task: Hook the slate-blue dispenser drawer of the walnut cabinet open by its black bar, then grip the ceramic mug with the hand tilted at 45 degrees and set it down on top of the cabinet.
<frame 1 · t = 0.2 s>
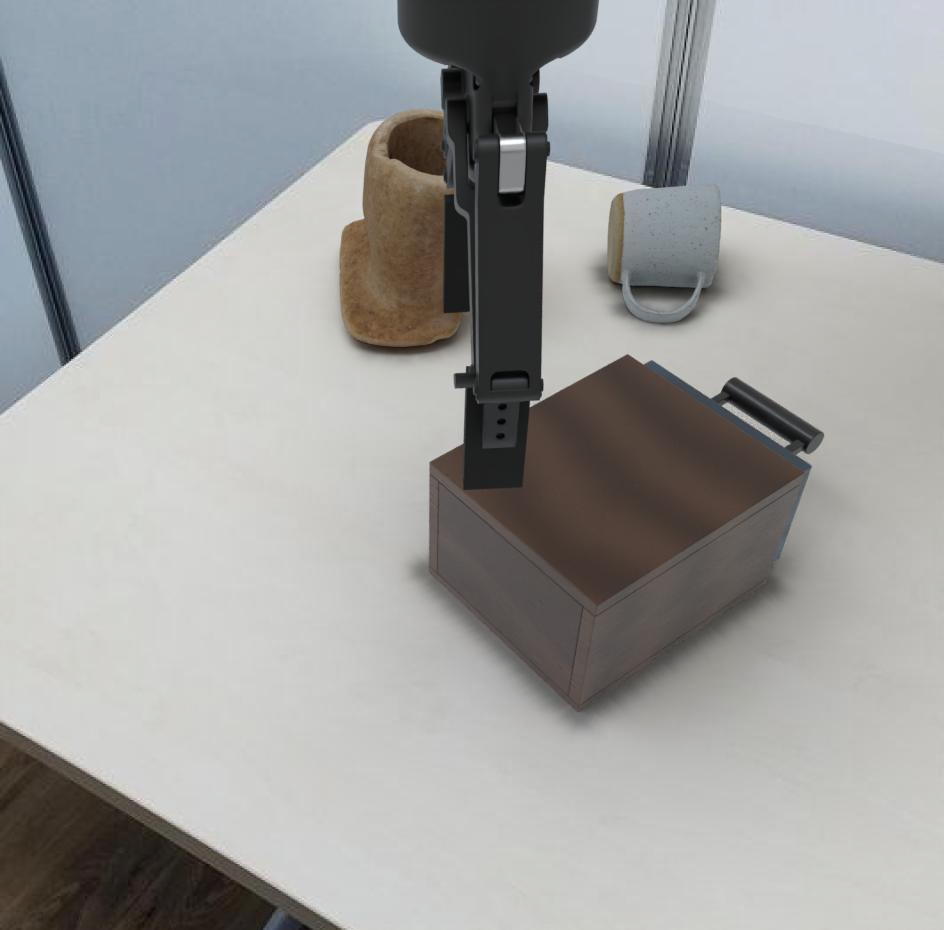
hand: (479, 389, 56), 18 cm above the table, tool pointing down, fingers open, 13 cm apart
ceramic mug: (659, 289, 91), on the table
stone cup: (412, 302, 92), on the table
drawer: (664, 489, 69), point 5 cm above the table, slide at 0.5 cm
cabinet: (594, 580, 71), on the table
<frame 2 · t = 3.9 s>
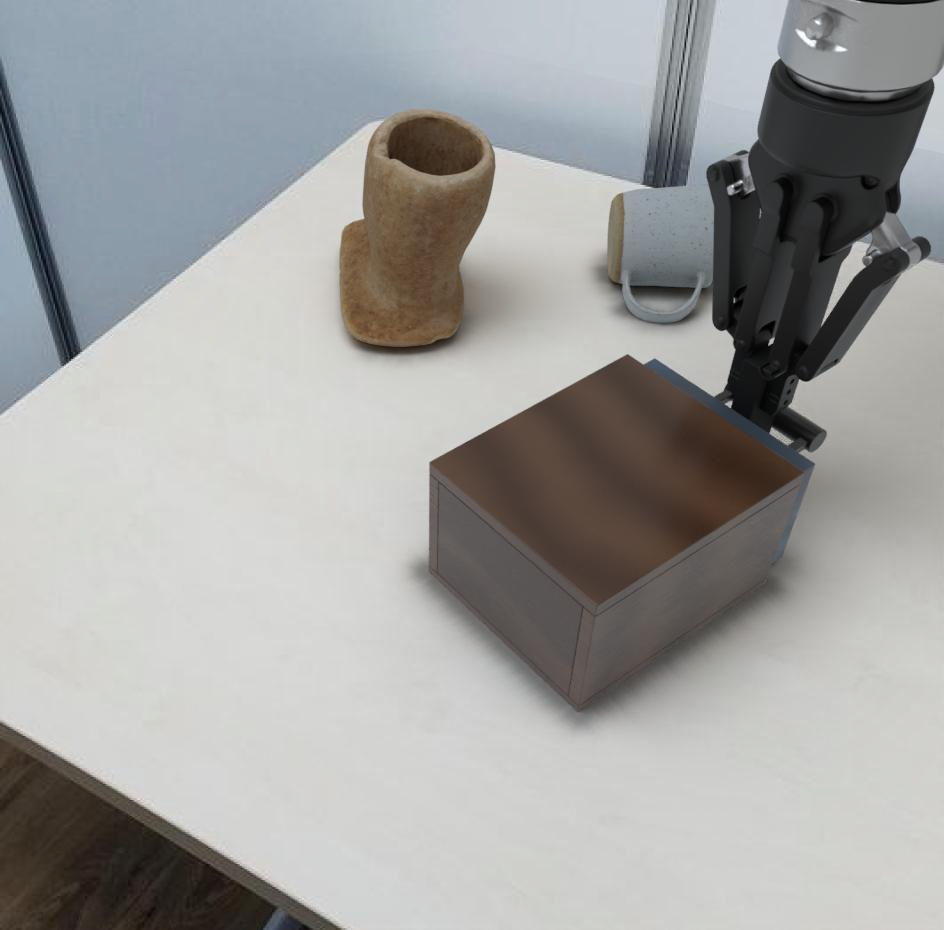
hand: (745, 439, 72), 5 cm above the table, tool pointing down, fingers closed
nothing on the table moved.
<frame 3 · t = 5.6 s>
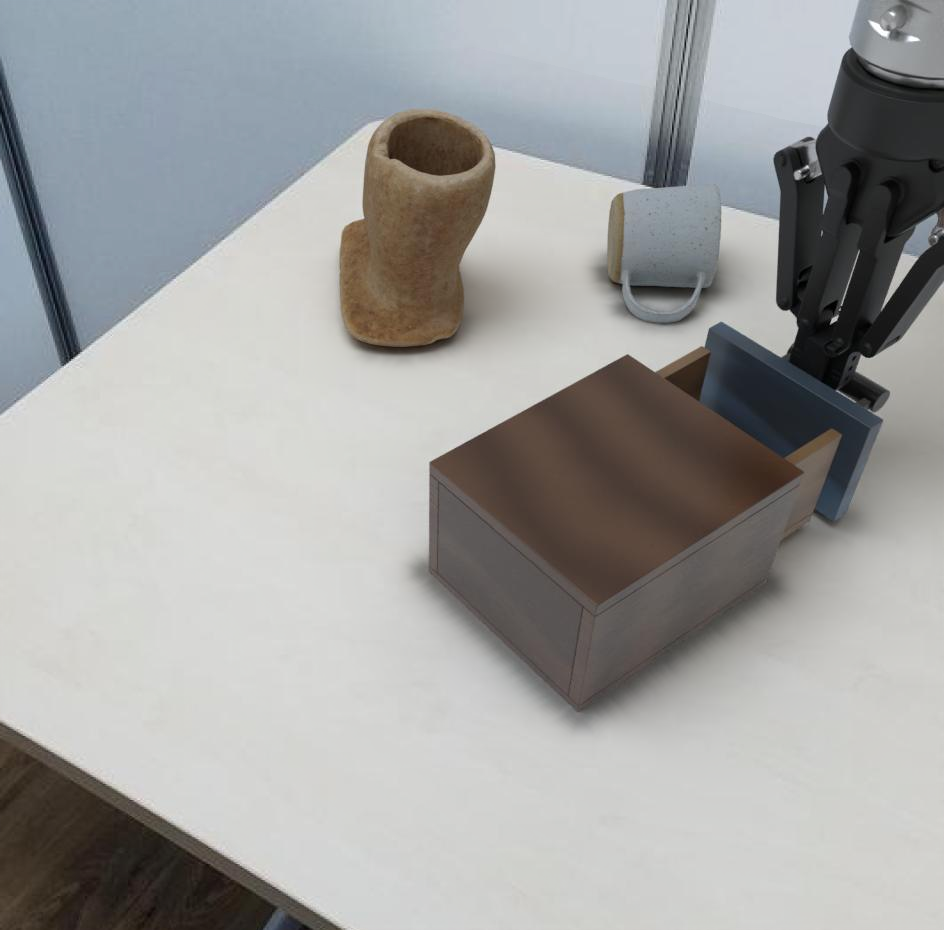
hand: (805, 415, 75), 4 cm above the table, tool pointing down, fingers closed
drawer: (735, 446, 71), point 5 cm above the table, slide at 6.8 cm
everything else where it was.
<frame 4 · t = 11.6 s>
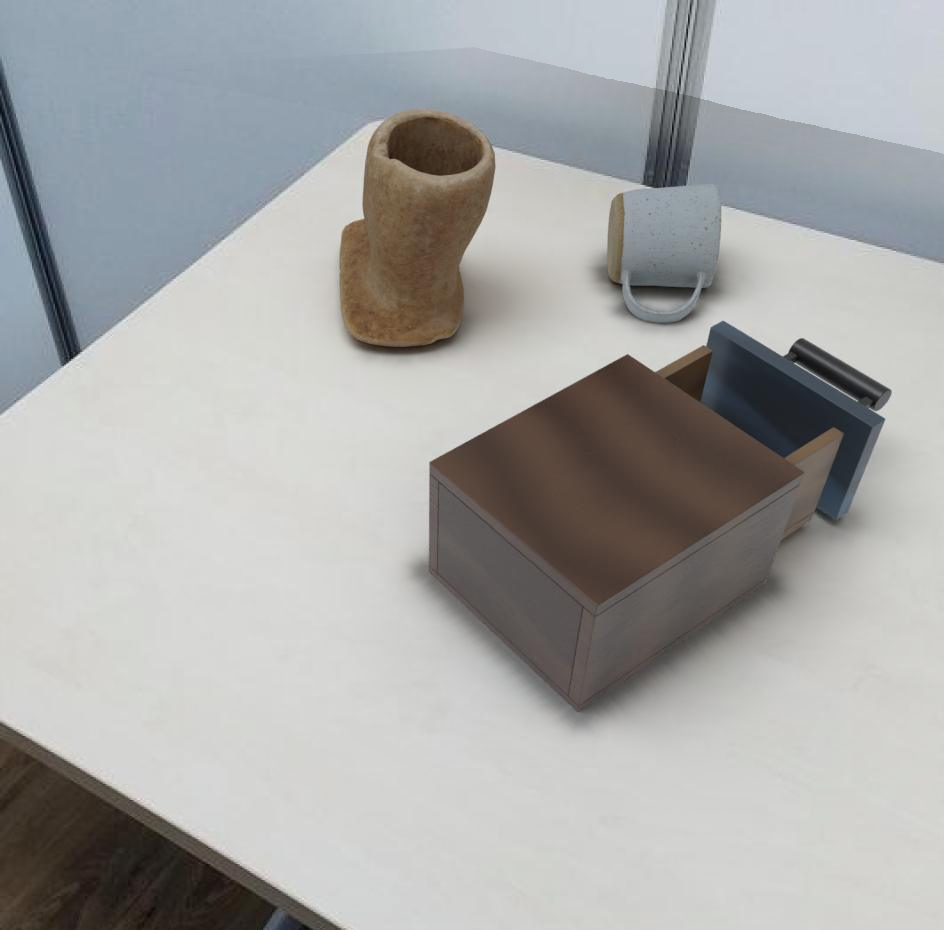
nothing on the table moved.
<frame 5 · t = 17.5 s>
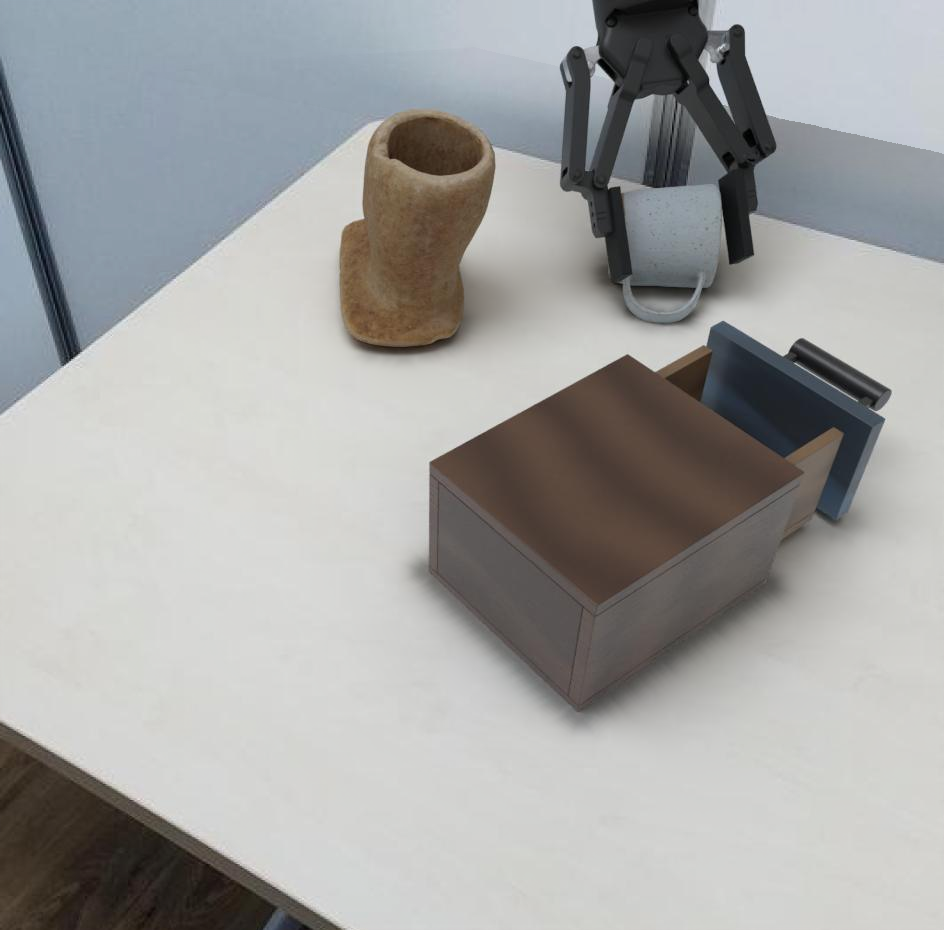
hand: (682, 268, 86), 4 cm above the table, tool tilted 45°, fingers closed on ceramic mug, 9 cm apart
ceramic mug: (659, 289, 91), on the table, touching gripper
everything else where it was.
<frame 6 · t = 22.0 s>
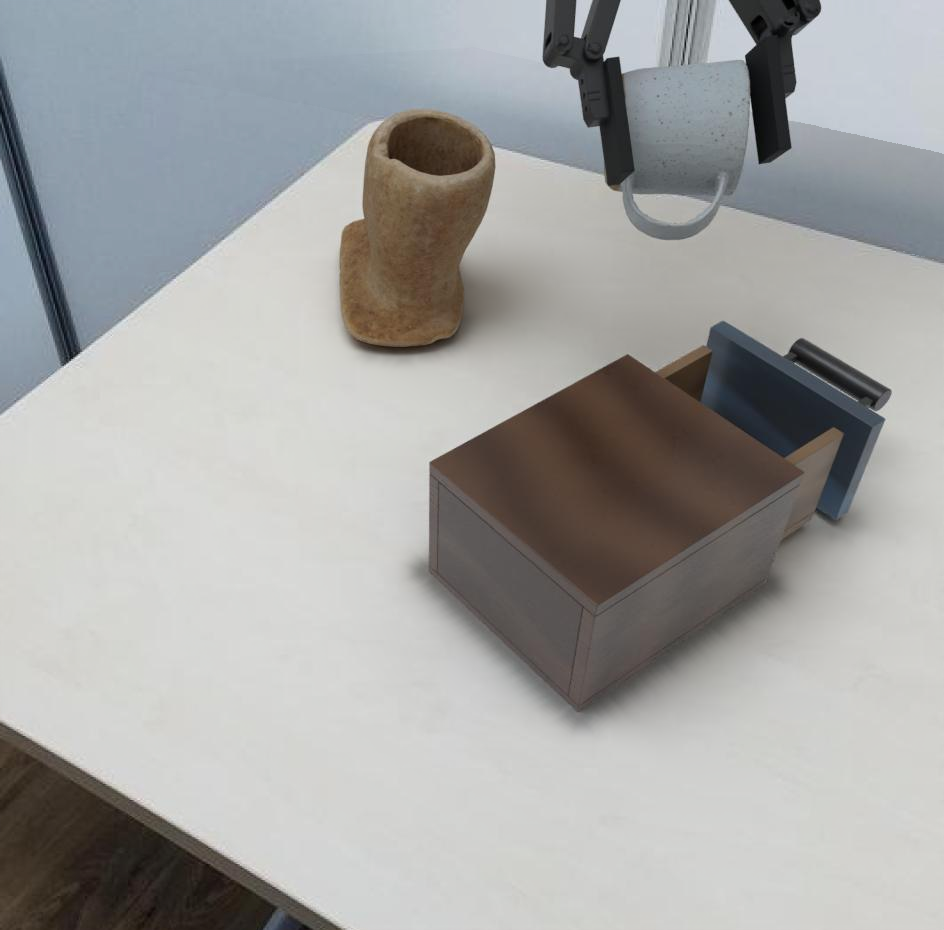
hand: (698, 167, 67), 19 cm above the table, tool tilted 45°, fingers closed on ceramic mug, 9 cm apart
ceramic mug: (669, 200, 72), point 15 cm above the table, touching gripper
everything else where it was.
when the fingers open (14 cm above the table, at t = 26.4 s): ceramic mug stays where it is, resting on cabinet.
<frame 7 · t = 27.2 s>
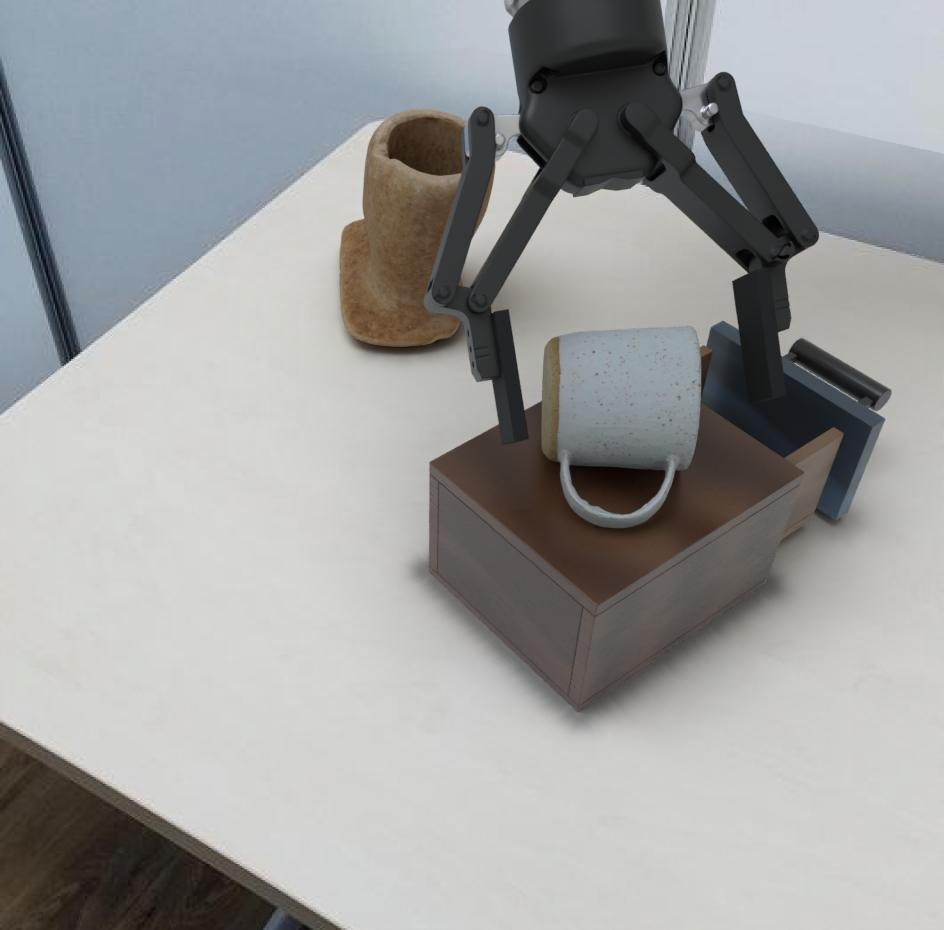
hand: (642, 421, 58), 15 cm above the table, tool tilted 45°, fingers open, 13 cm apart
ceramic mug: (615, 468, 64), point 10 cm above the table, touching cabinet
everything else where it was.
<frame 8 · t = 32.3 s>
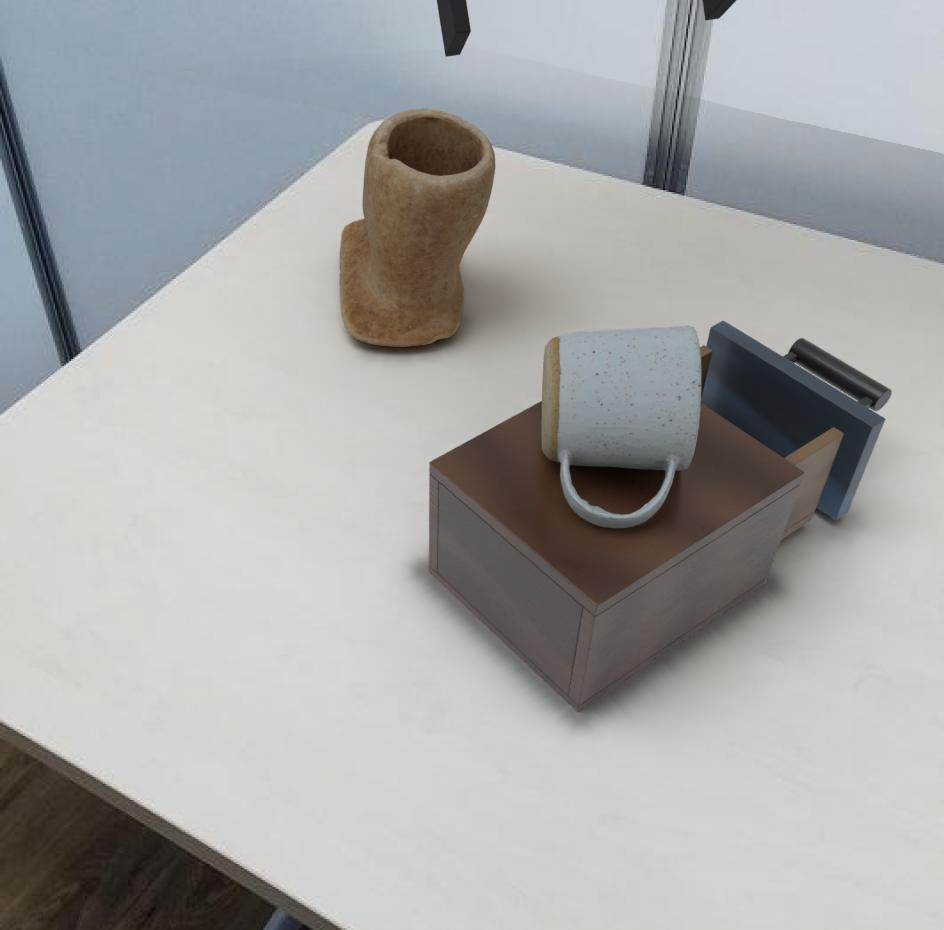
hand: (592, 26, 56), 30 cm above the table, tool tilted 45°, fingers open, 13 cm apart
nothing on the table moved.
at the end: drawer slide at 7.0 cm; ceramic mug inside the target area on the cabinet (0.1 cm from its centre), point 9.6 cm above the cabinet's base; ceramic mug tilted 0° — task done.
